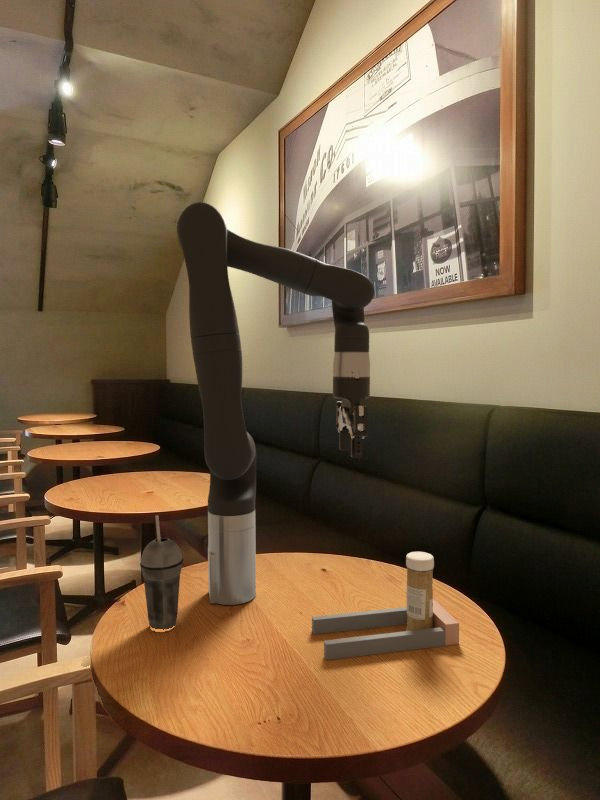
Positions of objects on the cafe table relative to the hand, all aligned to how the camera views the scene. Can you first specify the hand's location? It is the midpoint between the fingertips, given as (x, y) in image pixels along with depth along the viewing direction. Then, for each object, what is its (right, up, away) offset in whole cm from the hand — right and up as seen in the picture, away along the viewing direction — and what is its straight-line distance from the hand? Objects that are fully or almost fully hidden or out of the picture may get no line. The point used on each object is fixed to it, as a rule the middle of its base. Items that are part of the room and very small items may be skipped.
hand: (350, 454), depth 110 cm
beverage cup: (-34, -29, -16) cm, 48 cm away
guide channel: (+4, -29, -20) cm, 35 cm away
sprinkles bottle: (+10, -29, -19) cm, 36 cm away
